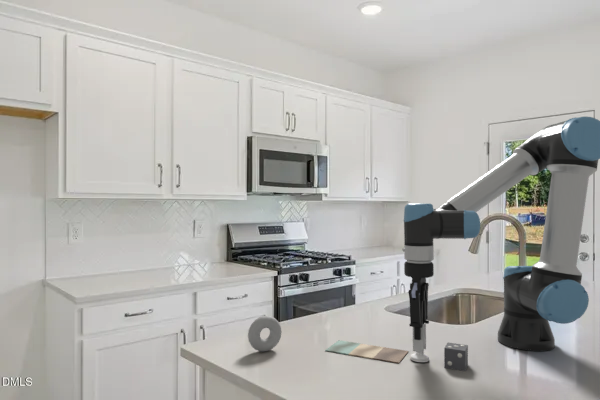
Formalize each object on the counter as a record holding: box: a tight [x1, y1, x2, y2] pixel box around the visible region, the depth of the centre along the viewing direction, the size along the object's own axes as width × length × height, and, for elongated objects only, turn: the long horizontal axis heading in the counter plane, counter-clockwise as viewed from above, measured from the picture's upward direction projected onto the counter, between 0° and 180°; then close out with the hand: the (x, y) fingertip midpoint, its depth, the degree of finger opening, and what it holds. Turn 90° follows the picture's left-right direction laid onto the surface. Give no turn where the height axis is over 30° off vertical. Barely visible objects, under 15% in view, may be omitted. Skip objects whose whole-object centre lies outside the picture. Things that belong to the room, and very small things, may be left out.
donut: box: [247, 315, 282, 353], centre depth 125 cm, size 10×4×10 cm, turn 117°
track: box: [325, 339, 409, 364], centre depth 125 cm, size 21×10×1 cm, turn 62°
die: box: [443, 342, 469, 372], centre depth 113 cm, size 5×5×5 cm
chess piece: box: [409, 351, 430, 363], centre depth 118 cm, size 5×5×10 cm
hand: (419, 349), depth 118 cm, fingers closed on chess piece, 2 cm apart
